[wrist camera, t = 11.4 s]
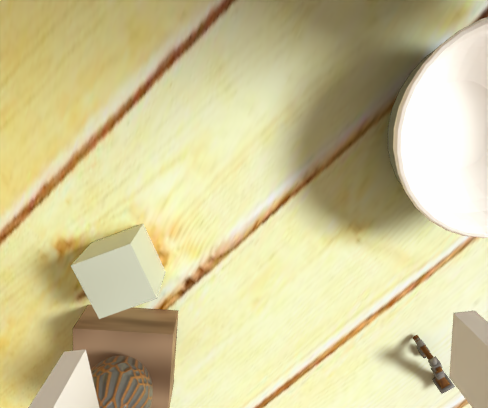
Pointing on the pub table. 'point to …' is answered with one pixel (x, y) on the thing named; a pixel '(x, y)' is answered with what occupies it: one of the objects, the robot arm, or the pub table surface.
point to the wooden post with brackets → (434, 367)
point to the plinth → (133, 343)
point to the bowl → (446, 133)
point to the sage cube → (120, 271)
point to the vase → (122, 383)
